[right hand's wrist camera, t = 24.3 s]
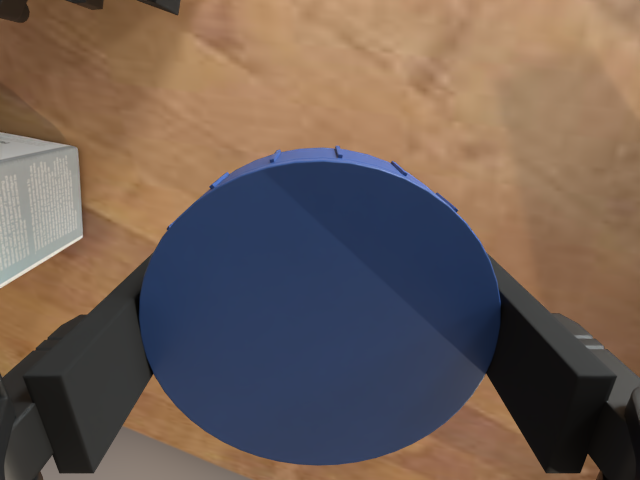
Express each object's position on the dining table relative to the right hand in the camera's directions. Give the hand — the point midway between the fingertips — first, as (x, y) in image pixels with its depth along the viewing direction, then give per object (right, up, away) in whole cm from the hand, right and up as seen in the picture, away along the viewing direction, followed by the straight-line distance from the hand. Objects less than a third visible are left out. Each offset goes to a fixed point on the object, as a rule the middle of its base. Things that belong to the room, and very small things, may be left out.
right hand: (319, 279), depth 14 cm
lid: (0, -1, -3) cm, 3 cm away
